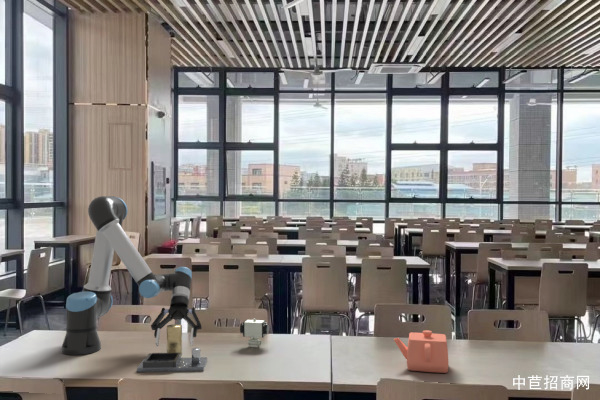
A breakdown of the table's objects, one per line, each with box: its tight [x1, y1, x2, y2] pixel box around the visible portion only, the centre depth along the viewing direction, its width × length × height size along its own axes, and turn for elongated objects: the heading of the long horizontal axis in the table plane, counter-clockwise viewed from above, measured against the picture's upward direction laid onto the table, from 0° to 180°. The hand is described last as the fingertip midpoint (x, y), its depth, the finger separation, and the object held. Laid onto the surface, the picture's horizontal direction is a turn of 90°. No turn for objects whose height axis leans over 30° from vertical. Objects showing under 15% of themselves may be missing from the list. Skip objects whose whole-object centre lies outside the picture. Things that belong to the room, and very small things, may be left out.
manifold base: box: [136, 347, 208, 373], centre depth 202 cm, size 24×12×6 cm, turn 93°
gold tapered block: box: [166, 323, 183, 357], centre depth 216 cm, size 6×6×12 cm
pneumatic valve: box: [239, 318, 270, 349], centre depth 230 cm, size 6×12×12 cm, turn 80°
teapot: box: [393, 329, 449, 374], centre depth 201 cm, size 20×22×14 cm
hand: (174, 344), depth 214 cm, fingers open, 13 cm apart
